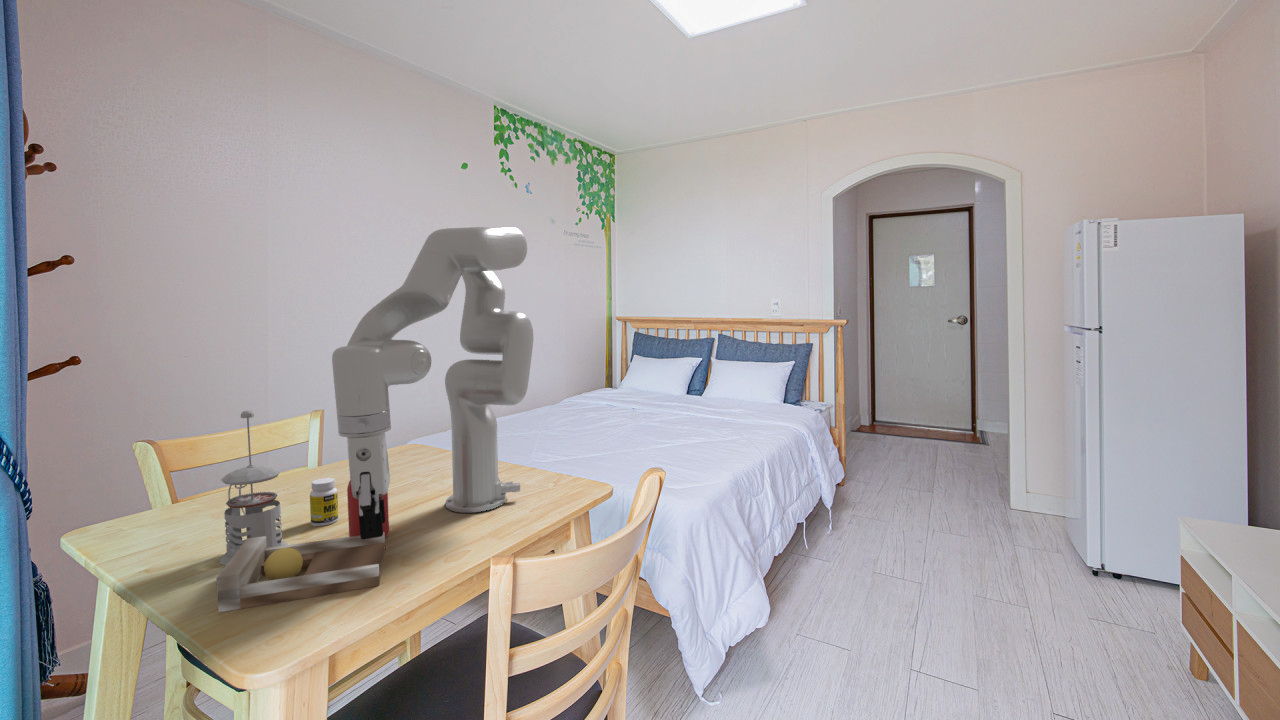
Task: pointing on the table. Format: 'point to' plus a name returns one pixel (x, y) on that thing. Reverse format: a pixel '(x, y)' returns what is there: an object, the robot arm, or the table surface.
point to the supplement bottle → (323, 502)
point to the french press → (251, 507)
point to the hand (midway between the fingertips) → (373, 529)
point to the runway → (326, 561)
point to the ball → (283, 564)
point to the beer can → (354, 513)
